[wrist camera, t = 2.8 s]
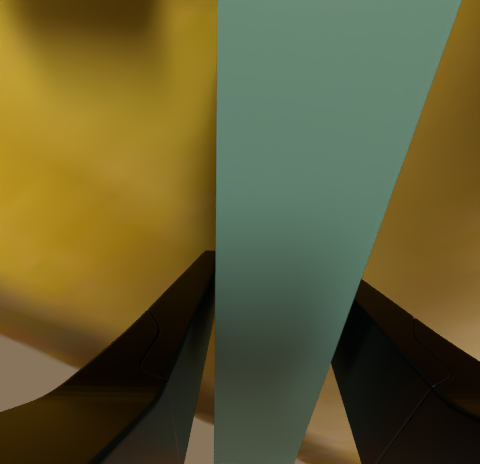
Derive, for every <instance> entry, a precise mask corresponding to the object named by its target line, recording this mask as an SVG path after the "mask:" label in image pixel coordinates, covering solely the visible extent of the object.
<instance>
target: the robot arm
mask: <svg viewBox="0 0 480 464" xmlns="http://www.w3.org/2000/svg"><path fill="white" fill-rule="evenodd" d="M215 276H216V251H208V250H206V251H204V252H203V253H202V254H201V255H200V257H199V258H198V259H197V260H196V261H195V262H194V263H193V264H192V265H191V266H190V267H189V268H188V269H187V270H186V271H185V272H184V273H183V274H182V275H181V276H180V277H179V278H178V279H177V280H176V281H175V282H174V283H173V284H172V285H171V286H170V287H169V288H168V289H167V290H166V291H165V292H164V293H163V294H162V295H161V296H160V297H159V298H158V299H157V300H156V301H155V302H154V303H153V304H152V305H151V307H150V308H149V309H148V310H146V311H145V312H144V313H143V315H142V316H141V317H140V318H139V319H138V320H136V321H135V322H134V323H133V324H132V325H131V326H130V327H129V328H128V329H127V330H126V331H125V332H124V333H123V334H122V335H120V336H119V337H118V338H117V339H116V340H115V341H113V342H112V343H111V344H110V345H109V346H108V347H106V348H105V349H104V350H103V351H102V352H100V353H99V354H98V355H97V356H96V357H94V358H93V359H92V360H91V361H89V362H88V363H87V364H86V365H85V366H83V367H82V368H81V369H80V370H79V371H77V372H76V373H75V374H74V375H73V376H71V377H70V378H69V379H68V380H66V381H65V382H64V383H63V384H61V385H60V386H58V387H57V388H56V389H54V390H53V391H51V392H49V393H48V394H46V395H44V396H42V397H40V398H38V399H36V400H34V401H31V402H29V403H26V404H23V405H20V406H17V407H14V408H12V409H8V410H5V411H2V412H0V464H184V461H185V456H186V452H187V447H188V442H189V437H190V432H191V427H192V422H193V418H194V413H195V408H196V403H197V398H198V393H199V388H200V384H201V379H202V374H203V369H204V364H205V359H206V354H207V350H208V345H209V340H210V335H211V330H212V325H213V320H214V313H215ZM331 364H332V368H333V371H334V374H335V378H336V381H337V384H338V388H339V391H340V394H341V397H342V401H343V404H344V407H345V411H346V414H347V417H348V421H349V424H350V427H351V431H352V434H353V437H354V441H355V444H356V447H357V450H358V454H359V457H360V460H361V464H480V361H478V360H477V359H475V358H474V357H472V356H470V355H469V354H467V353H466V352H464V351H463V350H461V349H460V348H458V347H457V346H455V345H454V344H452V343H450V342H449V341H447V340H446V339H444V338H443V337H442V336H440V335H439V334H437V333H436V332H434V331H433V330H432V329H430V328H429V327H427V326H426V325H425V324H423V323H422V322H420V321H419V320H418V319H416V318H414V317H413V316H412V315H411V314H409V313H408V312H406V311H405V310H404V309H402V308H401V307H400V306H398V305H397V304H395V303H394V302H393V301H391V300H390V299H389V298H387V297H386V296H384V295H383V294H382V293H380V292H379V291H377V290H376V289H375V288H373V287H372V286H371V285H369V284H368V283H366V282H365V281H364V280H362V279H361V280H360V283H359V286H358V289H357V291H356V294H355V297H354V300H353V302H352V305H351V308H350V311H349V313H348V316H347V319H346V322H345V325H344V327H343V330H342V333H341V336H340V338H339V341H338V344H337V347H336V349H335V352H334V355H333V358H332V361H331Z"/></svg>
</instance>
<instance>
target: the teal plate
mask: <svg viewBox="0 0 480 464" xmlns="http://www.w3.org/2000/svg"><path fill="white" fill-rule="evenodd" d="M461 1H462V0H218V16H217V146H216V276H215V405H214V464H294V463H295V460H296V457H297V454H298V452H299V449H300V446H301V443H302V441H303V438H304V435H305V432H306V430H307V427H308V424H309V421H310V419H311V416H312V413H313V410H314V407H315V405H316V402H317V399H318V396H319V394H320V391H321V388H322V385H323V383H324V380H325V377H326V374H327V372H328V369H329V366H330V363H331V361H332V358H333V355H334V352H335V349H336V347H337V344H338V341H339V338H340V336H341V333H342V330H343V327H344V325H345V322H346V319H347V316H348V313H349V311H350V308H351V305H352V302H353V300H354V297H355V294H356V291H357V289H358V286H359V283H360V280H361V278H362V275H363V272H364V269H365V267H366V264H367V261H368V258H369V255H370V253H371V250H372V247H373V244H374V242H375V239H376V236H377V233H378V231H379V228H380V225H381V222H382V219H383V217H384V214H385V211H386V208H387V206H388V203H389V200H390V197H391V195H392V192H393V189H394V186H395V184H396V181H397V178H398V175H399V173H400V170H401V167H402V164H403V161H404V159H405V156H406V153H407V150H408V148H409V145H410V142H411V139H412V137H413V134H414V131H415V128H416V125H417V123H418V120H419V117H420V114H421V112H422V109H423V106H424V103H425V101H426V98H427V95H428V92H429V90H430V87H431V84H432V81H433V79H434V76H435V73H436V70H437V67H438V65H439V62H440V59H441V56H442V54H443V51H444V48H445V45H446V43H447V40H448V37H449V34H450V32H451V29H452V26H453V23H454V20H455V18H456V15H457V12H458V9H459V7H460V4H461Z"/></svg>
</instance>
